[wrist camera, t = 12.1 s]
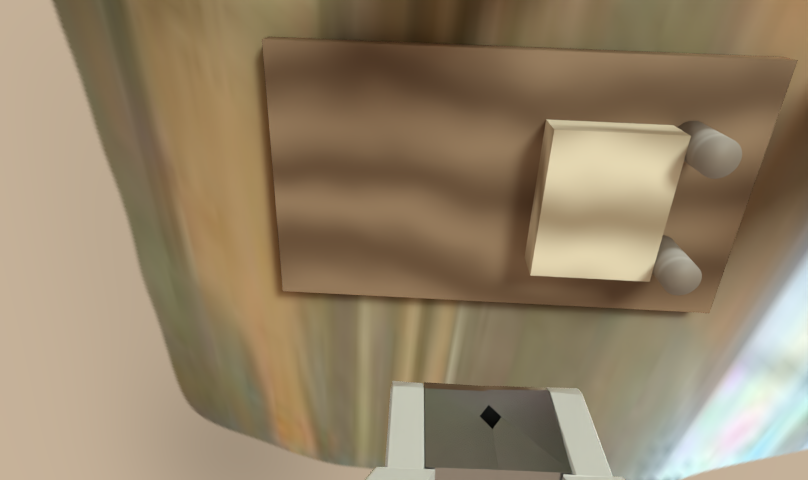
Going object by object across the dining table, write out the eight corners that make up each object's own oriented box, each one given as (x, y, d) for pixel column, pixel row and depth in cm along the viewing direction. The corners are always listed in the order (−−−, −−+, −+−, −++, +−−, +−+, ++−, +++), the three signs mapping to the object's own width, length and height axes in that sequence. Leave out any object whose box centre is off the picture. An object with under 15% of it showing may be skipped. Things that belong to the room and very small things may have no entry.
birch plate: (546, 119, 34) (554, 129, 31) (673, 125, 33) (691, 136, 31) (524, 257, 38) (530, 275, 36) (636, 263, 38) (649, 281, 36)
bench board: (268, 36, 33) (240, 47, 29) (782, 57, 33) (844, 71, 28) (287, 280, 42) (268, 321, 37) (700, 301, 41) (736, 346, 36)
